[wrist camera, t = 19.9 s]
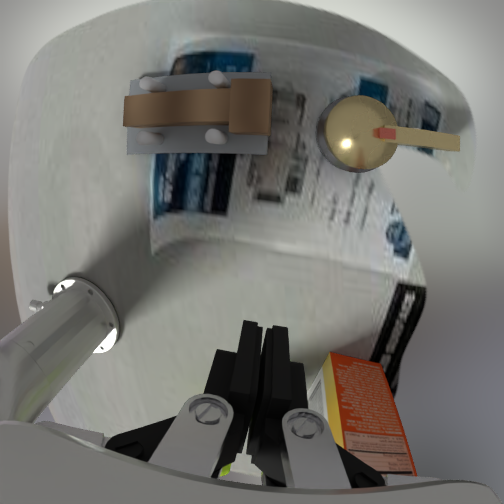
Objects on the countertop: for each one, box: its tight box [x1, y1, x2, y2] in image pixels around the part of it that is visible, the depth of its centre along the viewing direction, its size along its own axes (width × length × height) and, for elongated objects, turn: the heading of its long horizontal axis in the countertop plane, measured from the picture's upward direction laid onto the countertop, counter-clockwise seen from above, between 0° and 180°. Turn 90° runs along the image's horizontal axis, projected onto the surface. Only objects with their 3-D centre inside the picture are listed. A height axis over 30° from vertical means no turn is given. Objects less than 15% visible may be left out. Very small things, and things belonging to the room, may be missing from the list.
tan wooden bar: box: [123, 78, 273, 136], centre depth 28 cm, size 15×5×4 cm, turn 88°
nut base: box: [316, 97, 420, 173], centre depth 29 cm, size 12×8×2 cm, turn 87°
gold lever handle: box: [323, 95, 460, 169], centre depth 26 cm, size 14×7×3 cm, turn 92°
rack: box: [127, 70, 271, 155], centre depth 29 cm, size 16×9×5 cm, turn 87°
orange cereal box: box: [307, 352, 417, 477], centre depth 28 cm, size 23×8×30 cm, turn 164°
